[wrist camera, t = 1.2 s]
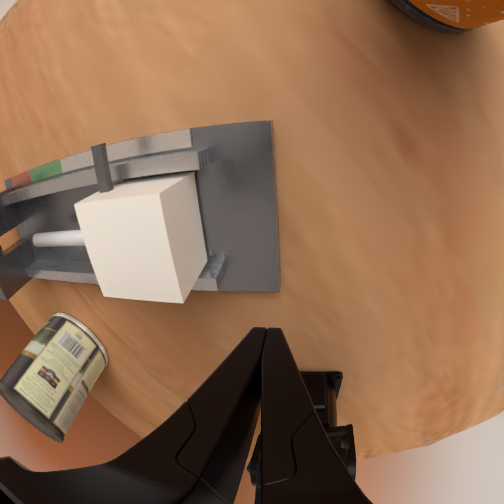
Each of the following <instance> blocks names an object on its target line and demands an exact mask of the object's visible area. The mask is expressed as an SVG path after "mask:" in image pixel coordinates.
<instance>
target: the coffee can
mask: <svg viewBox="0 0 504 504" xmlns="http://www.w3.org/2000/svg"><path fill="white" fill-rule="evenodd" d="M107 364H108V355H107V353H106V350H105V348H104V346H103V345H102V343H101V342H100V340H99V339H98V338H97V337H96V336H95V335H94V334H93V333H92V332H91V331H90V330H89V329H88V328H87V327H86V326H85V325H84V324H82V323H81V322H80V321H78V320H77V319H75V318H74V317H72V316H70V315H67V314H65V313H55V314H53V316H52V317H51V319H50V320H49V321H48V322H47V323H46V324H45V325H44V327H43V328H42V329H41V330H40V331H39V332H38V333H37V335H36V336H35V337H34V338H33V339H32V341H31V342H30V343H29V344H28V345H27V347H26V348H25V349H24V350H23V352H22V353H21V354H20V355H19V356H18V357H17V359H16V360H15V361H14V363H13V364H12V365H11V366H10V368H9V369H8V370H7V372H6V373H5V374H4V376H3V377H2V378H1V380H0V394H1V395H2V397H3V398H4V399H5V400H6V401H7V402H8V403H9V404H10V405H11V407H13V409H15V410H16V411H17V412H18V413H19V414H20V415H21V416H22V417H23V418H24V419H25V420H27V421H28V422H29V423H30V424H32V425H33V426H34V427H35V428H37V429H38V430H39V431H41V432H42V433H44V434H45V435H46V436H48V437H50V438H51V439H53V440H55V441H57V442H59V443H62V442H63V440H64V436H65V434H66V433H67V431H68V429H69V427H70V425H71V423H72V422H73V419H74V418H75V416H76V414H77V413H78V411H79V409H80V407H81V406H82V404H83V402H84V401H85V399H86V397H87V396H88V394H89V392H90V390H91V389H92V387H93V385H94V384H95V382H96V381H97V379H98V377H99V376H100V374H101V372H102V371H103V369H104V368H105V367H106V365H107Z"/></svg>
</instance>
